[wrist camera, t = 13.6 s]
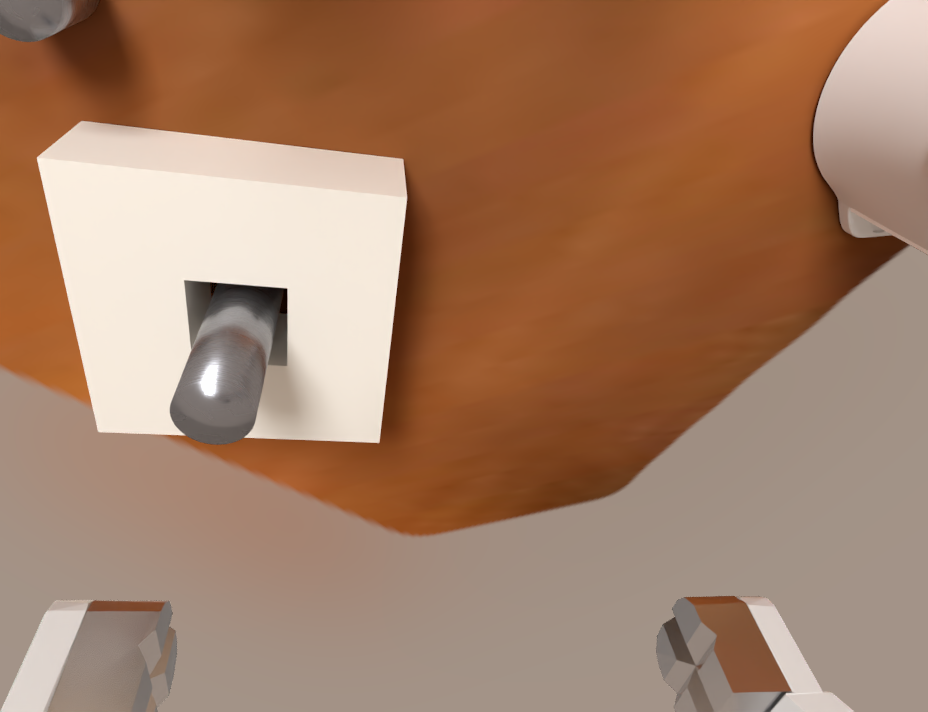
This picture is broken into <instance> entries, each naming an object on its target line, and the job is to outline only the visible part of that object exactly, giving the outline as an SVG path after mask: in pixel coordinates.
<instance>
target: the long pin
mask: <svg viewBox="0 0 928 712" xmlns="http://www.w3.org/2000/svg"><path fill="white" fill-rule="evenodd" d="M284 289H285V288H277V287H264V286H252V285H239V284H226V283H217V286H216V288H215V291H214V293H213V296H212V299H211V301H210V304H209V306H208V309H207V311H206V314H205V317H204V319H203V322H202V324H201V327H200V329H199V332H198V334H197V337H196V340H195V342H194V345H193V347H192V350H191V352H190V355H189V358H188V360H187V363H186V365H185V368H184V370H183V373H182V375H181V378H180V381H179V383H178V386H177V388H176V391H175V393H174V396H173V399H172V401H171V404H170V416H171V419H172V421H173V423H174V424H175V426H176V427H177V428H178V429H179V430H180V431H181V432H182V433H183V434H185V435H186V436H188V437H190V438H192V439H194V440H196V441H199V442H203V443H207V444H228V443H232V442H236V441H238V440H240V439H242V438H244V437H245V436H246V435H248V434H249V433H250V431H251V430H252V429H253V427H254V424H255V420H256V416H257V411H258V406H259V402H260V397H261V393H262V388H263V384H264V379H265V375H266V370H267V366H268V361H269V357H270V352H271V348H272V343H273V338H274V334H275V329H276V325H277V320H278V316H279V311H280V307H281V302H282V298H283V293H284Z"/></svg>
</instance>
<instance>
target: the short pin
mask: <svg viewBox="0 0 928 712" xmlns="http://www.w3.org/2000/svg"><path fill="white" fill-rule="evenodd" d="M99 2H100V0H0V34H2V35H3V36H6V37H8V38H11V39H14V40H18V41H24V42H34V41H39V40H42V39H45V38H47V37H49V36H51V35H53V34H55V33H58V32H60V31H62V30H64V29H66V28H68V27H70V26H72V25H74V24H77V23H79V22H81V21H83V20H85V19H87V18H88V17H90V16H91V15H92V14H93V13H94V12H95V10H96V9H97V7H98V4H99Z"/></svg>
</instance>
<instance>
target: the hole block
mask: <svg viewBox="0 0 928 712" xmlns="http://www.w3.org/2000/svg"><path fill="white" fill-rule="evenodd" d="M37 161H38V165H39V170H40V174H41V179H42V183H43V187H44V192H45V196H46V201H47V205H48V210H49V214H50V219H51V223H52V228H53V232H54V237H55V241H56V245H57V250H58V254H59V259H60V263H61V268H62V272H63V277H64V281H65V286H66V290H67V295H68V299H69V304H70V308H71V312H72V317H73V321H74V326H75V330H76V335H77V339H78V344H79V348H80V353H81V357H82V362H83V366H84V370H85V375H86V379H87V384H88V388H89V393H90V397H91V402H92V406H93V411H94V415H95V419H96V424H97V428H98V432H113V433H138V434H164V435H185V434H183V433H182V432H181V431H180V430H179V429H178V428H177V427H176V426H175V424H174V423H173V421H172V419H171V416H170V404H171V401H172V399H173V396H174V393H175V391H176V388H177V386H178V383H179V381H180V378H181V375H182V373H183V370H184V368H185V365H186V363H187V360H188V358H189V355H190V352H191V350H192V347H193V345H194V342H195V340H196V337H197V334H198V332H199V329H200V327H201V324H202V322H203V319H204V317H205V314H206V311H207V309H208V306H209V304H210V301H211V286H210V282H214V283H226V284H239V285H252V286H264V287H277V288H288V314H283V313H279V316H278V320H277V325H276V329H275V334H274V338H273V343H272V348H271V352H270V357H269V361H268V366H267V370H266V375H265V379H264V384H263V388H262V393H261V397H260V402H259V406H258V411H257V416H256V420H255V424H254V427H253V429H252V430H251V431H250V433H249V434H248V435H246V436H245V437H244V438H268V439H294V440H320V441H346V442H372V443H379V441H380V433H381V424H382V415H383V406H384V397H385V389H386V380H387V371H388V362H389V353H390V345H391V336H392V327H393V318H394V309H395V301H396V292H397V283H398V274H399V265H400V257H401V248H402V239H403V230H404V221H405V213H406V204H407V191H406V181H405V171H404V162H403V159H399V158H390V157H382V156H373V155H365V154H357V153H348V152H340V151H331V150H323V149H314V148H306V147H298V146H289V145H281V144H272V143H264V142H256V141H247V140H239V139H230V138H222V137H213V136H205V135H197V134H188V133H180V132H171V131H163V130H155V129H146V128H138V127H129V126H121V125H113V124H104V123H96V122H87V121H81V122H80V123H79V124H77V125H76V126H75V127H74V128H72V129H71V130H70V131H69V132H68V133H66V134H65V135H64V136H63V137H61V138H60V139H59V140H58V141H57V142H55V143H54V144H53V145H52V146H50V147H49V148H48V149H47V150H46V151H44V152H43V153H42V154H41V155H39V156H38V157H37Z"/></svg>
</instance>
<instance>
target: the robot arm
mask: <svg viewBox="0 0 928 712" xmlns="http://www.w3.org/2000/svg"><path fill="white" fill-rule="evenodd" d="M813 145H814V153H815V158H816V162H817V165H818V167H819V170H820V172H821V174H822V176H823V177H824V179H825V180H826V182H827V183H828V184H829V186H830V187H831V188H832V190H833V191H834V193H835V194H836V196H837V198H838V205H839V217H840V223H841V226H842V228H843V230H844V231H845V232H847V233H849V234H851V235H853V236H855V237H858V238H866V237H878V236H889V235H893V236H895V237H897V238H898V239H900V240H902V241H904V242H906V243H907V244H909V245H911V246H913V247H914V248H916V249H918V250H920V251H922V252H924V253H925V254H927V255H928V0H890V1H888V2H887V3H886V4H885V5H884V6H883V7H881V8H880V9H879V10H878V11H877V12H876V13H875V14H874V15H873V16H872V17H871V18H870V19H869V20H868V21H867V22H866V23H865V24H864V25H863V26H862V28H861V29H860V30H859V31H858V32H857V33H856V35H855V36H854V37H853V38H852V40H851V41H850V42H849V44H848V45H847V47H846V48H845V49H844V51H843V52H842V54H841V56H840V57H839V59H838V60H837V62H836V64H835V66H834V67H833V69H832V71H831V73H830V75H829V77H828V79H827V81H826V84H825V86H824V88H823V91H822V94H821V97H820V100H819V103H818V107H817V111H816V115H815V121H814V130H813ZM672 610H673V613H674V615H675V617H674V618H672V619H671V620H669V621H667V622H666V623H664V624H663V625H662V627H661V629H660V631H659V633H658V635H657V647H656V653H657V659H658V664H659V668H660V670H661V673H662V676H663V679H664V681H665V682H666V683H667V684H668V685H669V686H670V687H671V688H672V689H673V690H674V691H675V692H676V693H677V697H676V701H675V705H674V709H675V712H854V711H853V710H852V709H851V708H849V707H848V706H847V705H846V704H845V703H843V702H842V701H841V700H840V699H839V698H838V697H836V696H835V695H834V694H833V693H832V692H824V691H822V690H821V688H820V686H819V684H818V682H817V681H816V679H815V677H814V675H813V674H812V672H811V670H810V668H809V666H808V665H807V663H806V661H805V659H804V658H803V656H802V654H801V652H800V650H799V649H798V647H797V645H796V643H795V641H794V640H793V638H792V636H791V634H790V633H789V631H788V629H787V627H786V626H785V624H784V622H783V620H782V618H781V617H780V615H779V613H778V611H777V610H776V608H775V606H774V605H773V603H772V602H770V601H769V600H768V599H767V598H765V597H760V596H747V597H735V596H718V597H717V596H716V597H684V598H681V599H679V600H677V602H676V604H675V605H674V606H673V608H672ZM172 614H173V613H172V609H171V604H170V601H96V600H63V601H61V600H60V601H54V603H53V604H52V605H51V606H50V608H49V609H48V610H47V611H46V613H45V615H44V617H43V619H42V621H41V623H40V625H39V628H38V630H37V632H36V634H35V637H34V639H33V641H32V643H31V645H30V648H29V650H28V652H27V654H26V657H25V659H24V661H23V663H22V665H21V667H20V670H19V672H18V674H17V676H16V679H15V681H14V683H13V685H12V687H11V689H10V692H9V694H8V696H7V698H6V701H5V703H4V705H3V707H2V709H1V711H0V712H158V711H157V707H158V706H159V705H160V704H161V703H162V702H163V701H164V700H165V699H166V698H167V697H168V696H169V693H170V689H171V685H172V681H173V677H174V671H175V664H176V657H177V637H176V631H175V630H174V629H172V628H171V627H169V625H170V621H171V618H172Z"/></svg>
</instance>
